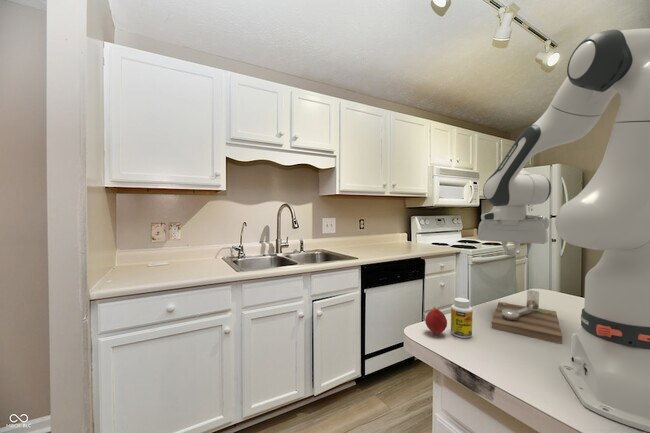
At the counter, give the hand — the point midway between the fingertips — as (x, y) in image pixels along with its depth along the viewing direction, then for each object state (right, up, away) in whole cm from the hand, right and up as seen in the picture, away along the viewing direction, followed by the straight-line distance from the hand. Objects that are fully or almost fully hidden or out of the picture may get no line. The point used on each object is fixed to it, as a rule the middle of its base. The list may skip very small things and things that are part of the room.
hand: (510, 255), depth 98 cm
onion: (-32, -21, -16) cm, 42 cm away
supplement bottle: (-25, -21, -16) cm, 37 cm away
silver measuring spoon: (-1, -18, -7) cm, 19 cm away
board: (0, -21, -8) cm, 22 cm away
